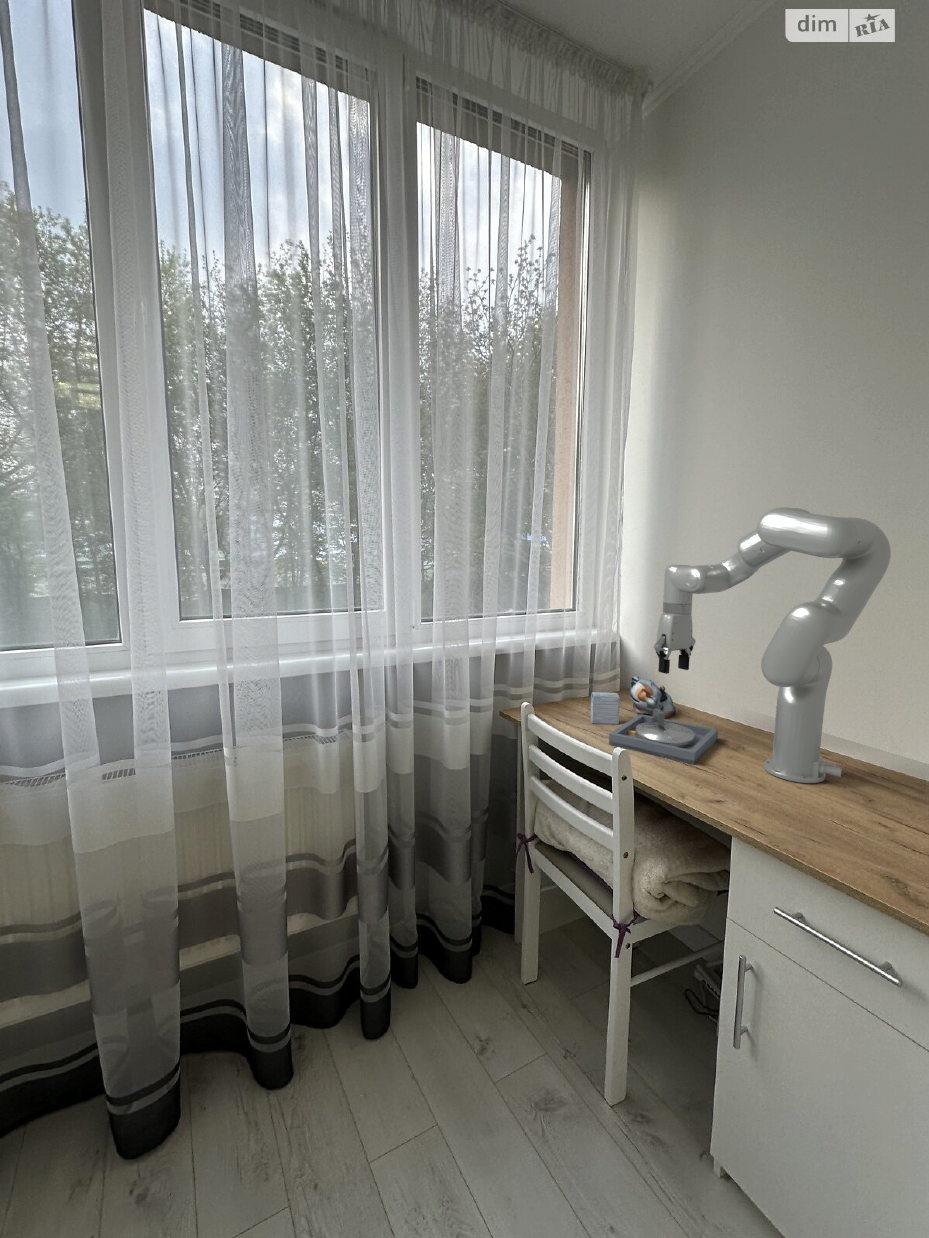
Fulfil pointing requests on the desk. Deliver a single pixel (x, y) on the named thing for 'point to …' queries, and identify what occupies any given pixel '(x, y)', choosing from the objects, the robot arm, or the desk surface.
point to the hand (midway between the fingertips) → (673, 670)
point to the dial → (664, 731)
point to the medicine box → (605, 708)
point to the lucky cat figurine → (650, 698)
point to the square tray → (688, 754)
